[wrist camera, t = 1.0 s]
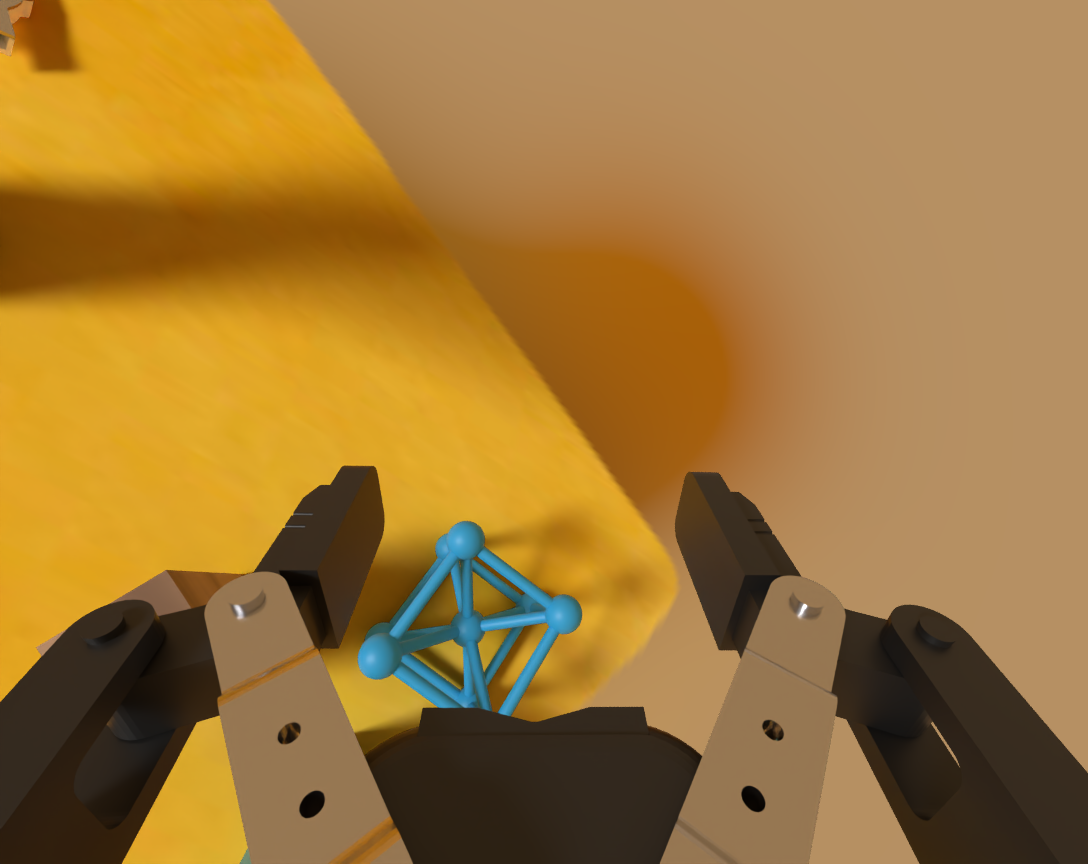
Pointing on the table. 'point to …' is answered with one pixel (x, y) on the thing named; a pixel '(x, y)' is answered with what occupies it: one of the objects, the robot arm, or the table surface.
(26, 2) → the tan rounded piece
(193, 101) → the table surface
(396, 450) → the table surface
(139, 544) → the table surface
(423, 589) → the molecular structure
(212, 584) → the walnut pillar
